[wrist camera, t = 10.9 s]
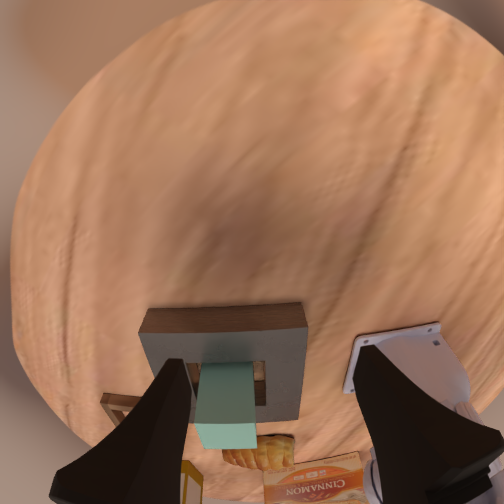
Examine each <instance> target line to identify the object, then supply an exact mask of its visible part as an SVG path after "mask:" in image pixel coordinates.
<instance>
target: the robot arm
mask: <svg viewBox="0 0 504 504" xmlns="http://www.w3.org/2000/svg"><path fill="white" fill-rule="evenodd" d="M440 329H441V324H440V323H433V324H428V325H423V326H418V327H412V328H407V329H401V330H395V331H389V332H383V333H377V334H370V335H363V336H359V337H357V338H356V339H355V341H354V345H353V350H352V354H351V358H350V363H349V367H348V371H347V375H346V379H345V382H344V386H343V393H345V394H349V393H354V392H355V393H356V397H357V401H358V403H359V406H360V409H361V412H362V414H363V417H364V420H365V423H366V425H367V428H368V431H369V434H370V436H371V439H372V443H373V446H374V447H372V448H370V452H371V455H372V459H371V460H369V461H368V462H367V464H366V466H365V469H364V474H363V488H364V492H365V495H366V497H367V500H368V502H369V503H370V504H504V469H503V470H501V468H502V464H501V461H500V458H499V456H500V455H501V454H502V453H503V452H504V439H503V437H502V435H501V433H500V431H499V430H496V429H493V428H490V427H487V426H485V425H484V424H483V422H482V420H481V418H480V417H479V415H478V414H477V412H476V410H475V409H474V407H473V406H472V405H471V403H469V398H470V382H469V378H468V375H467V372H466V370H465V369H464V367H463V365H462V364H461V362H460V361H459V360H458V358H457V357H456V355H455V354H454V352H453V351H452V349H451V348H450V347H449V345H448V344H447V342H446V341H445V340H444V338H443V337H442V335H441V334H440V333H439V332H440ZM365 340H366V341H365ZM191 396H192V389H191V385H190V382H189V379H188V375H187V372H186V368H185V365H184V361H183V359H182V358H168V359H167V360H166V361H165V363H164V365H163V366H162V368H161V369H160V371H159V373H158V374H157V376H156V377H155V379H154V380H153V382H152V383H151V385H150V386H149V388H148V389H147V390H146V392H145V393H144V395H143V396H142V397H141V399H140V400H139V401H138V403H137V404H136V405H135V406H134V408H133V409H132V410H131V411H130V413H129V414H128V415H127V416H126V417H125V418H124V419H123V420H122V422H121V423H120V424H119V425H118V426H117V427H116V428H115V429H114V430H113V431H112V432H111V433H110V434H109V435H107V436H106V437H105V438H104V439H103V440H102V441H101V442H100V443H98V444H97V445H96V446H95V447H93V448H92V449H91V450H89V451H88V452H87V453H85V454H84V455H83V456H81V457H80V458H78V459H77V460H75V461H73V462H72V463H70V464H68V465H67V466H65V467H63V468H61V469H60V470H58V471H57V472H56V474H55V477H54V479H53V483H52V486H51V490H50V493H49V498H50V499H51V500H52V501H54V502H55V503H57V504H180V487H181V464H182V455H183V450H184V444H185V439H186V433H187V428H188V422H189V417H190V411H191Z"/></svg>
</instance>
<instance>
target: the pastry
mask: <svg viewBox="0 0 504 504" xmlns="http://www.w3.org/2000/svg"><path fill="white" fill-rule="evenodd" d="M294 443H295V440H294V439H292V438H289V437H286V436H284V435H275V436H273V437H268V436H257V448H252V449H222V454H223V459H224V461H226V462H228V463H230V464H233V465H239V466H241V467H246V468H250V469H260V470H262V471H267V470H269V469H272V470H280V469H281V468H282V467H286V468H292V467H293V465H294V455H293V450H294Z"/></svg>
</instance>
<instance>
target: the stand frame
mask: <svg viewBox="0 0 504 504" xmlns="http://www.w3.org/2000/svg"><path fill="white" fill-rule="evenodd" d="M140 399H141V397H132V396H123V395H114V394H106V393H103V396H102V398H101V401H100V404H101V406H102V407H103V409H104V410H105V412H106V413H107V415H108V416H109V417H110V419H111V420H112V422H113V423H114V425H115V426H116V427H117V426H118V425H119V424H120V423H121V422H122V420H123V419H124V418H125V416H124V415H123V413H122V412H121V411H127V412H130V411H131V410H132V409H133V408H134V406H135V405H136V404H137V403H138V401H139V400H140Z"/></svg>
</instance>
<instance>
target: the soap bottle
mask: <svg viewBox="0 0 504 504" xmlns="http://www.w3.org/2000/svg"><path fill="white" fill-rule="evenodd" d="M202 492H203V475H202V474H201V473H200V472H199V471H198V470H197V469H196V468H195V467H194V466H193V465H192V464H191V462H190V461H185V460H182V464H181V487H180V504H202Z"/></svg>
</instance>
